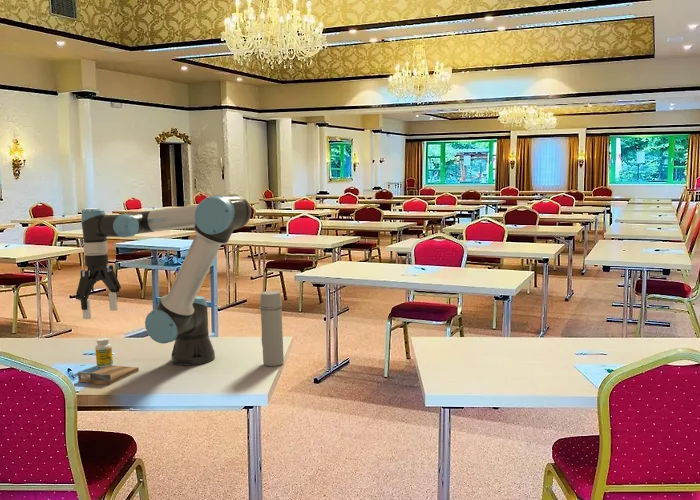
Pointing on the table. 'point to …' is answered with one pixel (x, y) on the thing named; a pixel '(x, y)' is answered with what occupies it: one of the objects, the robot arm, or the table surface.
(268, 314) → the water bottle
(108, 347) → the supplement bottle
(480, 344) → the table surface
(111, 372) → the wooden block
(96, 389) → the table surface
